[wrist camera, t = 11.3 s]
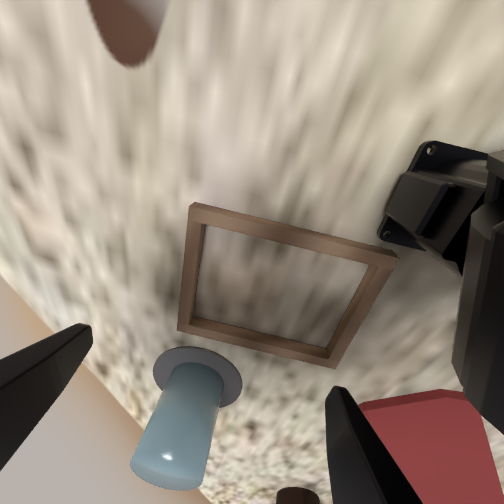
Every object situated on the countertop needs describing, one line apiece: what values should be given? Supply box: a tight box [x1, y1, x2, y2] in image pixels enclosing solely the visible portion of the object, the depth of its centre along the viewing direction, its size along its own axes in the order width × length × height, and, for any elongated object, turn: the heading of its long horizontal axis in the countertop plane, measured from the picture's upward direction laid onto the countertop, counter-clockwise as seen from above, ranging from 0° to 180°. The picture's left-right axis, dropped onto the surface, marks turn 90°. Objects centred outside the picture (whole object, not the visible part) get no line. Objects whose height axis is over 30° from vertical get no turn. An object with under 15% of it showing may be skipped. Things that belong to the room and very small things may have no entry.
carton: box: [358, 389, 504, 504], centre depth 29 cm, size 12×5×25 cm
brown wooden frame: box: [177, 202, 400, 369], centre depth 20 cm, size 15×12×1 cm
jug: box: [130, 362, 224, 491], centre depth 23 cm, size 8×6×8 cm
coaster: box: [153, 347, 242, 408], centre depth 26 cm, size 10×10×1 cm
